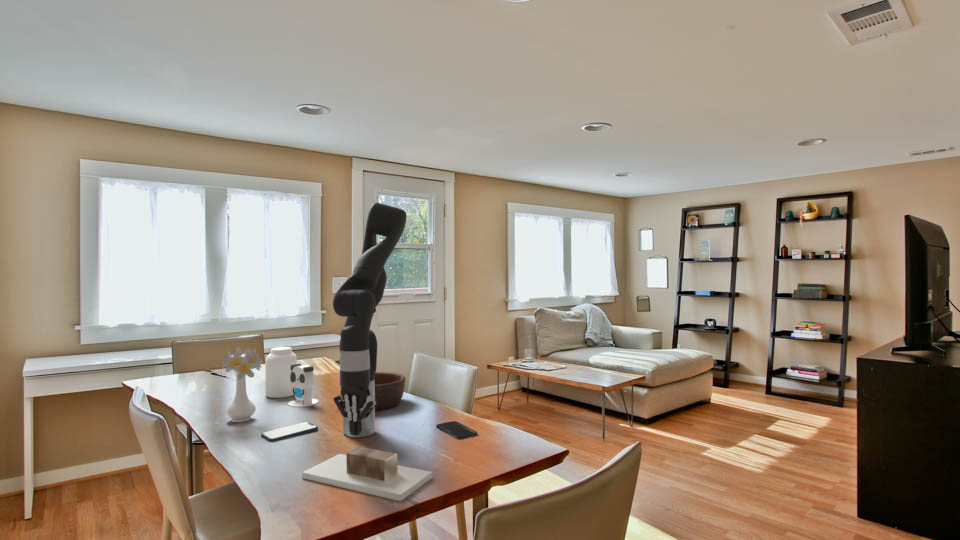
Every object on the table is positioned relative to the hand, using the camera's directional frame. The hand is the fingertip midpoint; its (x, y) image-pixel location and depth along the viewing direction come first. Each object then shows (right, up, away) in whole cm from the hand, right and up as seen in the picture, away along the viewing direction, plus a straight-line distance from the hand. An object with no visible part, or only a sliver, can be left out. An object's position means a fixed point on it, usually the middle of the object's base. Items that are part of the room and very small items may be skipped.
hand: (355, 434), depth 128 cm
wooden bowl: (-10, -11, +68) cm, 70 cm away
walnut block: (-1, -7, 0) cm, 7 cm away
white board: (+3, -11, -1) cm, 11 cm away
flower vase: (-52, -11, +48) cm, 71 cm away
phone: (+24, -11, +35) cm, 44 cm away
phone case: (-30, -11, +34) cm, 47 cm away
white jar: (-52, -11, +84) cm, 99 cm away
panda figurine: (-39, -11, +71) cm, 81 cm away
